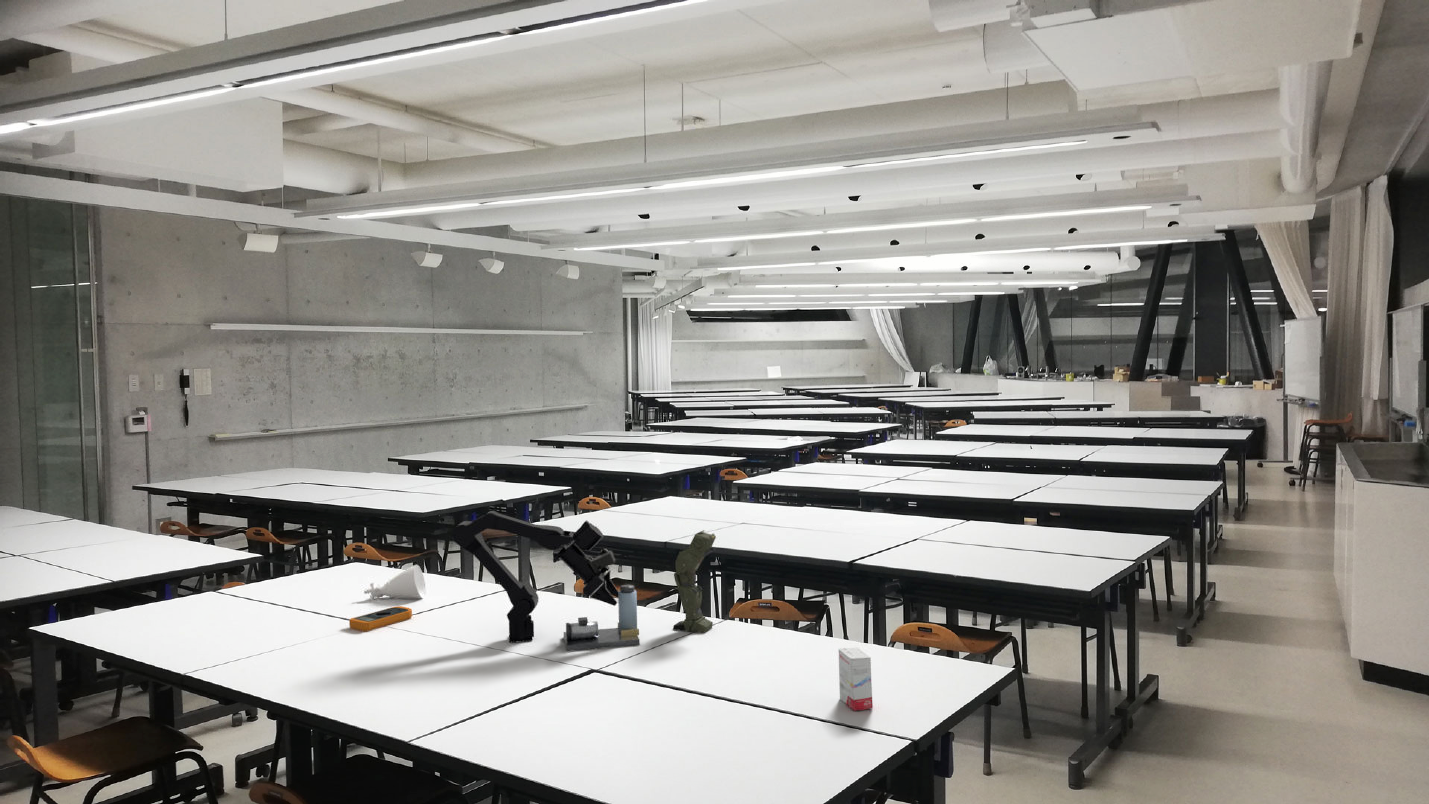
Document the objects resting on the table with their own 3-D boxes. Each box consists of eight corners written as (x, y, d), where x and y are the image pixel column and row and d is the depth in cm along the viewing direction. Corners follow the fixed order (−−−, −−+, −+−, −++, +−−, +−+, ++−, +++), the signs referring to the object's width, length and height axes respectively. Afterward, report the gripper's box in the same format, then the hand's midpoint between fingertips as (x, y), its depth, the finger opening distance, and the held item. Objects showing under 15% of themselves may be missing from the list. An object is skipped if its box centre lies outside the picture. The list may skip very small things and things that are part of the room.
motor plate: (566, 651, 253) (566, 625, 253) (563, 637, 266) (563, 613, 266) (641, 644, 258) (640, 619, 257) (634, 631, 270) (634, 607, 270)
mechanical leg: (659, 626, 272) (680, 528, 268) (670, 619, 279) (690, 524, 275) (702, 641, 268) (723, 542, 264) (711, 634, 274) (732, 538, 270)
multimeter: (415, 619, 289) (415, 608, 289) (365, 633, 274) (365, 622, 274) (397, 615, 294) (397, 604, 294) (347, 629, 279) (347, 618, 279)
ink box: (873, 709, 207) (872, 657, 207) (852, 712, 206) (851, 659, 206) (858, 696, 216) (858, 646, 215) (838, 698, 215) (837, 647, 214)
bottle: (625, 635, 262) (624, 589, 261) (615, 631, 266) (614, 586, 265) (640, 631, 265) (639, 586, 264) (630, 627, 269) (629, 583, 269)
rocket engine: (360, 572, 312) (413, 558, 313) (373, 587, 321) (424, 574, 322) (360, 603, 305) (414, 589, 306) (373, 617, 314) (426, 604, 315)
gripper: (594, 548, 255) (635, 588, 256) (601, 535, 274) (639, 572, 274) (566, 577, 255) (606, 616, 256) (575, 562, 274) (613, 599, 274)
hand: (617, 600), depth 265 cm, fingers open, 9 cm apart
